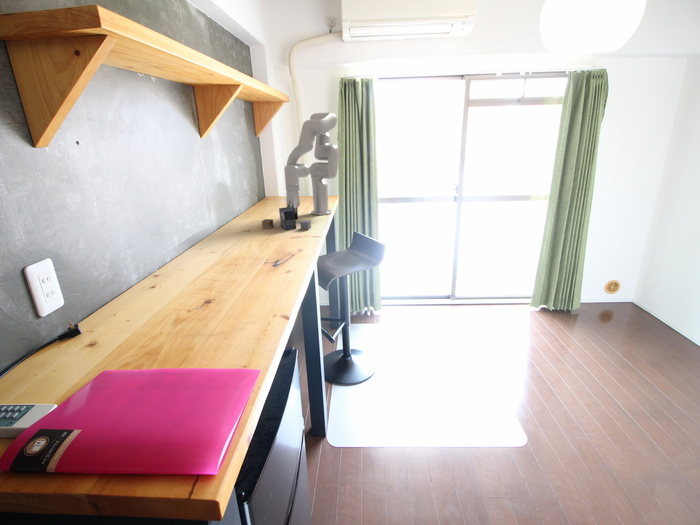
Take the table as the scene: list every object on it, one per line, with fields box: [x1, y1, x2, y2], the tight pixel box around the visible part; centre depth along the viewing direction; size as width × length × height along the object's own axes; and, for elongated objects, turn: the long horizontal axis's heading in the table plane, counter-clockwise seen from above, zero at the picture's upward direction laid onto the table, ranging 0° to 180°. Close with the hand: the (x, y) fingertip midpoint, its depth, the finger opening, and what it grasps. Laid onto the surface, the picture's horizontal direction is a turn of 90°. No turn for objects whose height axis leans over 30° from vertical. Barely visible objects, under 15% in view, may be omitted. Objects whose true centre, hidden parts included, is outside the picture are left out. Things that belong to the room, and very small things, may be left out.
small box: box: [278, 206, 297, 231], centre depth 203 cm, size 11×6×10 cm, turn 25°
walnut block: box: [261, 218, 274, 230], centre depth 204 cm, size 4×4×4 cm
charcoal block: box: [299, 219, 312, 231], centre depth 200 cm, size 4×4×4 cm
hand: (294, 219), depth 215 cm, fingers closed
